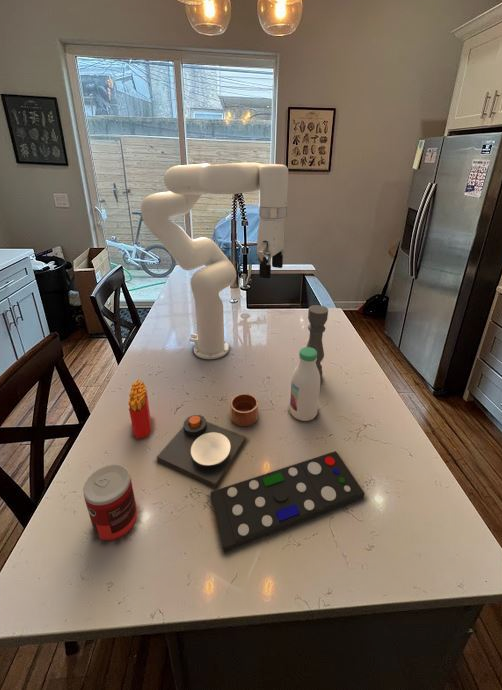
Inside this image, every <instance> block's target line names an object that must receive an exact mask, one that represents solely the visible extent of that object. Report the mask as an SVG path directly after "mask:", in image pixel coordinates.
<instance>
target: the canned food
mask: <svg viewBox="0 0 502 690" xmlns="http://www.w3.org/2000/svg"><path fill="white" fill-rule="evenodd" d="M82 490H83V499H84V503H85V506H86V509H87V512H88V515H89V518H90V522H91V526H92V529H93V532H94V534H95V536H97V537H98V538H99V539H100V540H103V541H107V542H112V541H117V540H118V539H121V538H123V537H124V536H125V535H127V534H129V532H130V531H131V530H132V528H133V527H134V525H135V523H136V520H137V517H138V509H137V503H136V497H135V493H134V488H133V482H132V478H131V474H130V472H129V469H128V468H127V467H125V466H124V465H121V464H108V465H105V466H102V467H100V468H98V469H96V470H95V471H94V472H92V473H91V474H90V476H89V477H87V479H86V481H85V482H84V485H83V489H82Z"/></svg>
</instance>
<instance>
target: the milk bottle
mask: <svg viewBox="0 0 502 690" xmlns="http://www.w3.org/2000/svg"><path fill="white" fill-rule="evenodd" d="M298 359H299V361H298V363H297V366H296V367H295V368H294V370H293V372H292V376H291V383H290V385H291V386H290V398H289V412H290V414H291V415H292V417H293V418H294V419H296V420H298V421H302V422H307V421H308V422H309V421H311V420H313V419H315V417H316V416H317V415H318V410H319V402H320V390H321V383H320V374H319V371H318V368H317V366H316V361H317V351H316V350H315V349H313V348H310V347H302V348H300V350H299V353H298Z"/></svg>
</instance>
